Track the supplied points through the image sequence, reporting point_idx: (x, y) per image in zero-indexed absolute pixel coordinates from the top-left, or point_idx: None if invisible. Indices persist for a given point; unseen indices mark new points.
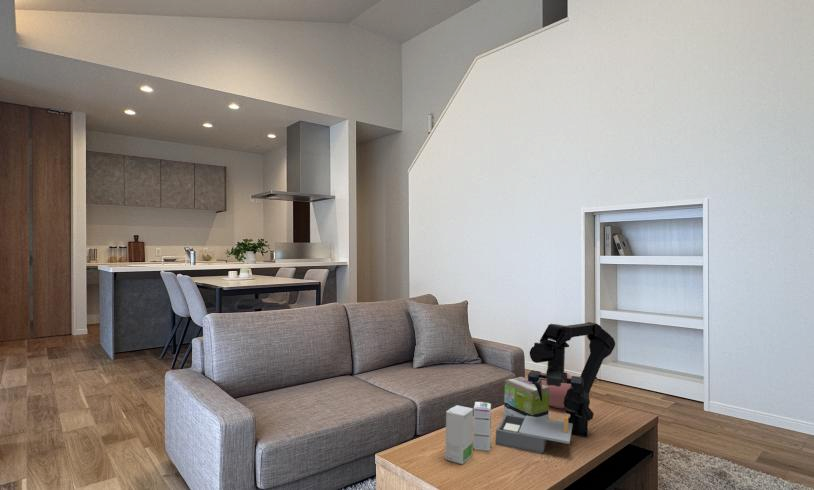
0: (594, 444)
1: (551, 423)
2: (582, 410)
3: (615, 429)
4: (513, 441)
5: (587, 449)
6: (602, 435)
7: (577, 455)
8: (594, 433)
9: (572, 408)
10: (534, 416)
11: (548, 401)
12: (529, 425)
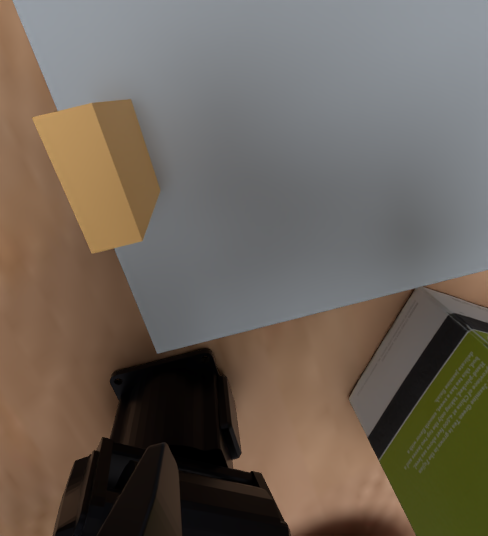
0: (36, 316)
1: (301, 240)
2: (81, 509)
3: (51, 528)
4: None
5: (29, 219)
6: (63, 441)
7: (28, 66)
8: (106, 437)
9: (184, 495)
10: (443, 339)
11: (410, 517)
12: (480, 35)
